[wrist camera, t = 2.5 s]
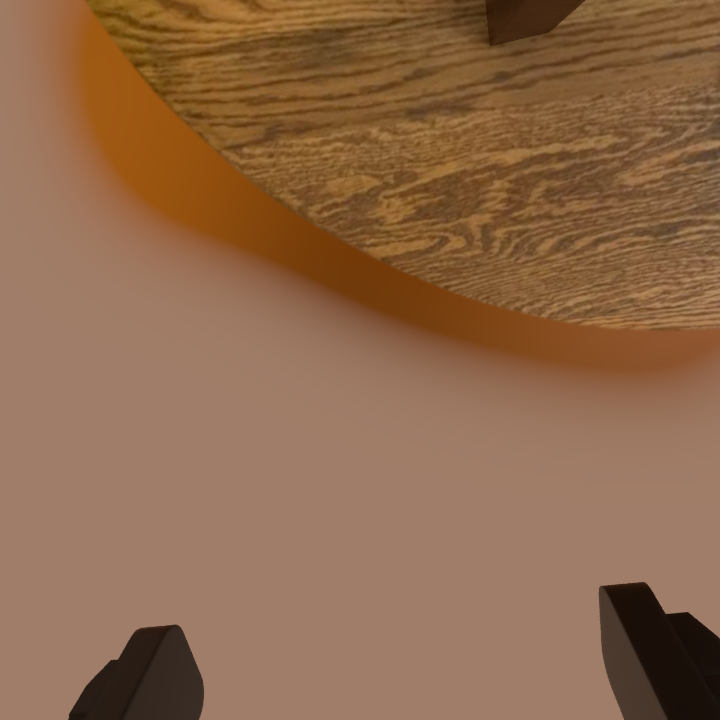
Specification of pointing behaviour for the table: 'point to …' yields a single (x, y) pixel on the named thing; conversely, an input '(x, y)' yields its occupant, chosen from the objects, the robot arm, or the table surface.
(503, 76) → the table surface
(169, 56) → the table surface
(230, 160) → the table surface
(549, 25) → the door stand
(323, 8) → the table surface
